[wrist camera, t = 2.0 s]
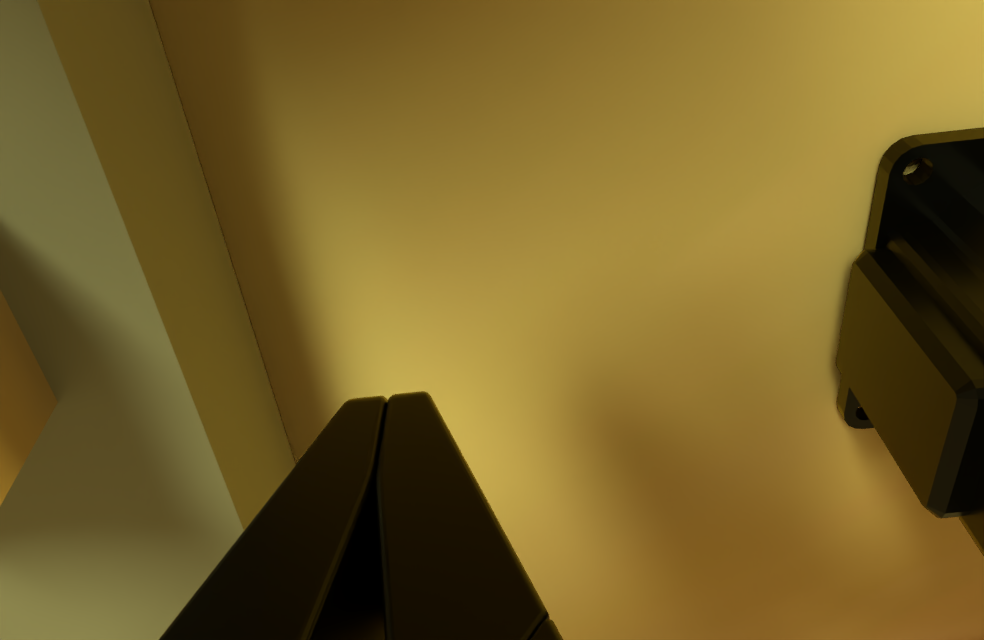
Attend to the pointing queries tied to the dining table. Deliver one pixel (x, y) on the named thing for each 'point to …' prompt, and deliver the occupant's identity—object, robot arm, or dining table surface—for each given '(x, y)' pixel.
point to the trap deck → (120, 334)
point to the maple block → (19, 399)
